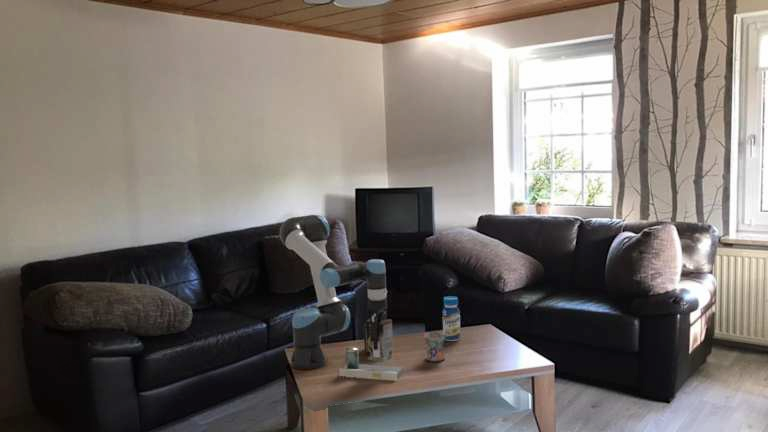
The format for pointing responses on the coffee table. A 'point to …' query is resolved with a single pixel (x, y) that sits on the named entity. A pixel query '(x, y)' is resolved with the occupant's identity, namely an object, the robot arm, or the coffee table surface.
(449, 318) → the beverage bottle
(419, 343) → the coffee table surface
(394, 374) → the shelf board
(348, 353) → the tea tin
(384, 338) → the coffee box
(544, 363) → the coffee table surface
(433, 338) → the mug
